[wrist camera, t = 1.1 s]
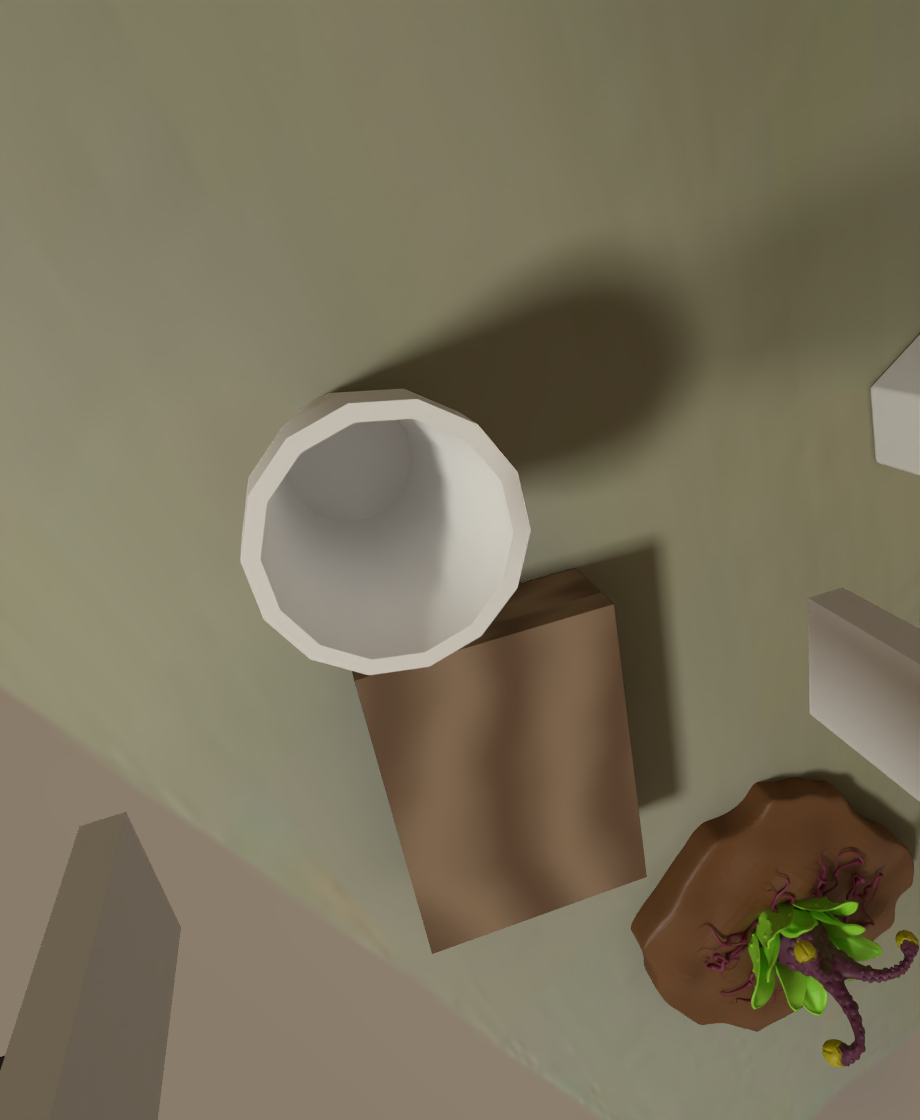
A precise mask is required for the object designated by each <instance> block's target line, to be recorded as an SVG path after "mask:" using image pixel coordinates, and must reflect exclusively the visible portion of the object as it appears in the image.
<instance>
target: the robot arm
mask: <svg viewBox="0 0 920 1120" xmlns="http://www.w3.org/2000/svg"><path fill="white" fill-rule="evenodd" d="M808 615H809V695H810V714H811V715H812V716H813V717H815V718H816V719H817V720H818V721H820V722H821V723H822V724H823V725H825V726H826V727H827V728H828V729H830V730H831V731H832V732H833V733H835V734H836V735H837V736H838V737H840V738H841V739H842V740H843V741H845V742H846V743H847V744H848V745H850V746H851V747H852V748H853V749H855V750H856V751H857V752H858V753H860V754H861V755H862V756H863V757H865V758H866V759H867V760H868V761H870V762H871V763H872V764H873V765H875V766H876V767H877V768H878V769H880V770H881V771H882V772H883V773H885V774H886V775H887V776H888V777H890V778H891V779H892V780H893V781H895V782H896V783H897V784H898V785H900V786H901V787H902V788H903V789H905V790H906V791H907V792H908V793H910V794H911V795H912V796H913V797H915V798H916V799H917V800H918V801H920V629H919V628H917V627H915V626H913V625H911V624H909V623H908V622H906V621H904V620H902V619H900V618H898V617H896V616H895V615H893V614H891V613H889V612H887V611H885V610H883V609H882V608H880V607H878V606H876V605H874V604H872V603H870V602H869V601H867V600H865V599H863V598H861V597H859V596H857V595H856V594H854V593H852V592H850V591H848V590H846V589H844V588H843V587H842V588H839V589H836V590H833V591H830V592H826V593H823V594H820V595H817V596H814V597H810V598H808ZM180 929H181V927H180V924H179V922H178V920H177V918H176V916H175V914H174V912H173V910H172V908H171V906H170V904H169V901H168V899H167V897H166V895H165V893H164V891H163V889H162V887H161V884H160V882H159V881H158V878H157V876H156V874H155V872H154V870H153V868H152V866H151V863H150V861H149V859H148V857H147V855H146V853H145V851H144V849H143V847H142V845H141V843H140V840H139V838H138V836H137V834H136V832H135V830H134V828H133V826H132V824H131V821H130V819H129V818H128V815H127V813H126V812H124V813H121V814H118V815H115V816H111V817H108V818H105V819H102V820H99V821H95V822H92V823H89V824H86V825H83V826H80V827H79V830H78V833H77V836H76V839H75V842H74V845H73V848H72V852H71V855H70V858H69V861H68V864H67V867H66V870H65V873H64V876H63V879H62V882H61V886H60V888H59V892H58V895H57V898H56V901H55V904H54V907H53V910H52V913H51V916H50V919H49V923H48V925H47V928H46V932H45V935H44V938H43V941H42V944H41V947H40V950H39V953H38V956H37V959H36V962H35V966H34V968H33V972H32V975H31V978H30V981H29V984H28V987H27V990H26V993H25V996H24V999H23V1002H22V1005H21V1008H20V1012H19V1015H18V1018H17V1021H16V1024H15V1027H14V1030H13V1033H12V1036H11V1039H10V1042H9V1045H8V1049H7V1052H6V1055H5V1056H2V1057H0V1120H158V1112H159V1104H160V1095H161V1086H162V1079H163V1070H164V1062H165V1054H166V1046H167V1037H168V1028H169V1021H170V1012H171V1004H172V995H173V987H174V979H175V971H176V962H177V954H178V946H179V938H180Z"/></svg>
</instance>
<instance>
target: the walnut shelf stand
mask: <svg viewBox="0 0 920 1120" xmlns="http://www.w3.org/2000/svg"><path fill="white" fill-rule="evenodd" d="M352 672H353V677H354V681H355V684H356V688H357V691H358V695H359V698H360V702H361V705H362V709H363V712H364V716H365V719H366V723H367V726H368V730H369V733H370V737H371V740H372V744H373V747H374V751H375V755H376V758H377V762H378V765H379V769H380V772H381V776H382V779H383V783H384V786H385V790H386V793H387V797H388V800H389V804H390V807H391V811H392V814H393V818H394V821H395V825H396V828H397V832H398V835H399V839H400V842H401V846H402V849H403V853H404V856H405V860H406V863H407V867H408V870H409V874H410V877H411V881H412V884H413V888H414V891H415V895H416V898H417V902H418V905H419V909H420V912H421V916H422V919H423V923H424V926H425V930H426V933H427V937H428V941H429V944H430V948H431V951H432V954H433V953H436V952H439V951H442V950H444V949H447V948H450V947H453V946H456V945H458V944H461V943H464V942H467V941H469V940H472V939H475V938H478V937H481V936H483V935H486V934H489V933H492V932H494V931H497V930H500V929H503V928H506V927H508V926H511V925H514V924H517V923H519V922H522V921H525V920H528V919H531V918H533V917H536V916H539V915H542V914H544V913H547V912H550V911H553V910H556V909H558V908H561V907H564V906H567V905H569V904H572V903H575V902H578V901H581V900H583V899H586V898H589V897H592V896H594V895H597V894H600V893H603V892H606V891H608V890H611V889H614V888H617V887H620V886H622V885H625V884H628V883H631V882H633V881H636V880H639V879H642V878H645V877H647V875H646V867H645V859H644V850H643V842H642V834H641V825H640V817H639V809H638V801H637V792H636V784H635V776H634V767H633V759H632V751H631V742H630V734H629V726H628V717H627V709H626V701H625V692H624V684H623V676H622V667H621V659H620V651H619V642H618V634H617V626H616V617H615V609H614V604H613V603H612V602H611V601H610V600H609V599H608V598H607V597H606V596H604V595H603V594H602V593H601V592H600V591H599V590H598V589H597V588H596V587H595V586H594V585H593V584H591V583H590V582H589V581H588V580H587V579H586V578H585V577H584V576H583V575H582V574H581V573H580V572H578V571H577V570H576V569H575V568H574V569H570V570H567V571H563V572H560V573H556V574H553V575H549V576H546V577H542V578H539V579H535V580H532V581H528V582H525V583H521V584H518V588H517V589H516V591H515V592H514V593H513V595H512V596H511V597H510V599H509V600H508V601H507V603H506V604H505V605H504V607H503V608H502V609H501V611H500V612H499V613H498V615H497V616H496V617H495V619H494V620H493V621H492V623H491V624H490V625H489V627H488V628H487V629H486V631H485V632H484V633H483V635H482V636H481V637H479V638H477V639H475V640H474V641H472V642H470V643H469V644H467V645H465V646H464V647H462V648H460V649H459V650H457V651H455V652H453V653H452V654H450V655H448V656H447V657H445V658H443V659H442V660H440V661H438V662H436V663H435V664H433V665H431V666H430V667H424V668H417V669H410V670H403V671H396V672H389V673H382V674H375V675H366V674H362V673H358V672H355V671H352Z"/></svg>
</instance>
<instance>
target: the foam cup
mask: <svg viewBox="0 0 920 1120" xmlns="http://www.w3.org/2000/svg"><path fill="white" fill-rule="evenodd" d="M530 532H531V529H530V524H529V520H528V515H527V511H526V507H525V502H524V498H523V493H522V489H521V484H520V480H519V475H518V472H517V471H516V469H515V468H514V467H513V466H512V465H511V463H510V462H509V461H508V460H507V459H506V457H505V456H504V455H503V454H502V453H501V451H500V450H499V449H498V448H497V447H496V445H495V444H494V443H493V442H492V441H491V439H490V438H489V437H488V436H487V435H486V433H485V432H484V431H483V430H482V429H481V427H480V426H479V425H478V424H477V423H475V422H474V421H472V420H471V419H469V418H468V417H466V416H465V415H463V414H462V413H460V412H458V411H456V410H453V409H451V408H449V407H446V406H444V405H442V404H439V403H437V402H435V401H432V400H430V399H427V398H425V397H423V396H420V395H418V394H416V393H413V392H411V391H409V390H406V389H387V390H371V391H354V392H338V393H327V394H325V395H324V396H322V397H320V398H318V399H317V400H315V401H313V402H311V403H310V404H308V405H306V406H304V407H303V408H301V409H300V410H299V412H298V413H297V415H296V416H295V418H294V419H293V420H291V421H289V422H287V423H285V424H284V425H283V426H282V428H281V429H280V431H279V432H278V434H277V435H276V437H275V438H274V440H273V441H272V443H271V444H270V446H269V447H268V449H267V450H266V452H265V453H264V455H263V456H262V458H261V459H260V461H259V462H258V464H257V465H256V467H255V468H254V470H253V471H252V473H251V474H250V476H249V478H248V486H247V495H246V504H245V513H244V522H243V531H242V543H241V560H240V562H241V564H242V567H243V569H244V572H245V574H246V576H247V579H248V581H249V584H250V586H251V589H252V591H253V594H254V596H255V599H256V601H257V604H258V606H259V609H260V611H261V614H262V616H263V619H264V620H265V621H266V622H267V623H268V624H270V625H271V626H272V627H273V628H274V629H275V630H277V631H278V632H279V633H280V634H281V635H282V636H284V637H285V638H286V639H287V640H288V641H289V642H291V643H292V644H293V645H294V646H295V647H296V648H298V649H299V650H300V651H301V652H302V653H303V654H305V655H306V656H307V657H308V658H309V659H311V660H314V661H318V662H322V663H325V664H329V665H333V666H336V667H340V668H344V669H347V670H351V671H355V672H358V673H362V674H366V675H375V674H382V673H389V672H396V671H403V670H410V669H417V668H424V667H430V666H431V665H433V664H435V663H436V662H438V661H440V660H442V659H443V658H445V657H447V656H448V655H450V654H452V653H453V652H455V651H457V650H459V649H460V648H462V647H464V646H465V645H467V644H469V643H470V642H472V641H474V640H475V639H477V638H479V637H481V636H482V635H483V633H484V632H485V631H486V629H487V628H488V627H489V625H490V624H491V623H492V621H493V620H494V619H495V617H496V616H497V615H498V613H499V612H500V611H501V609H502V608H503V607H504V605H505V604H506V603H507V601H508V600H509V599H510V597H511V596H512V595H513V593H514V592H515V591H516V589H517V588H518V584H519V579H520V575H521V571H522V566H523V562H524V558H525V553H526V549H527V545H528V540H529V536H530Z"/></svg>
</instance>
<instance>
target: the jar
mask: <svg viewBox="0 0 920 1120" xmlns="http://www.w3.org/2000/svg"><path fill="white" fill-rule="evenodd" d="M870 392H871V406H872V419H873V432H874V446H875V459H876V462H877V463H879V464H883V465H886V466H889V467H892V468H896V469H899V470H902V471H906V472H909V473H912V474H916V475H919V476H920V334H919V335H918V336H917V337H916V339H915V340H914V341H913V342H912V343H911V344H910V345H909V346H908V347H907V348H906V349H905V351H904V352H903V353H902V354H901V355H900V356H899V357H898V358H897V359H896V360H895V361H894V362H893V364H892V365H891V366H890V367H889V368H888V369H887V370H886V371H885V372H884V373H883V374H882V375H881V377H880V378H879V379H878V380H877V381H876V382H875V383H874V384H873V385H872V386H871V389H870Z"/></svg>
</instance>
